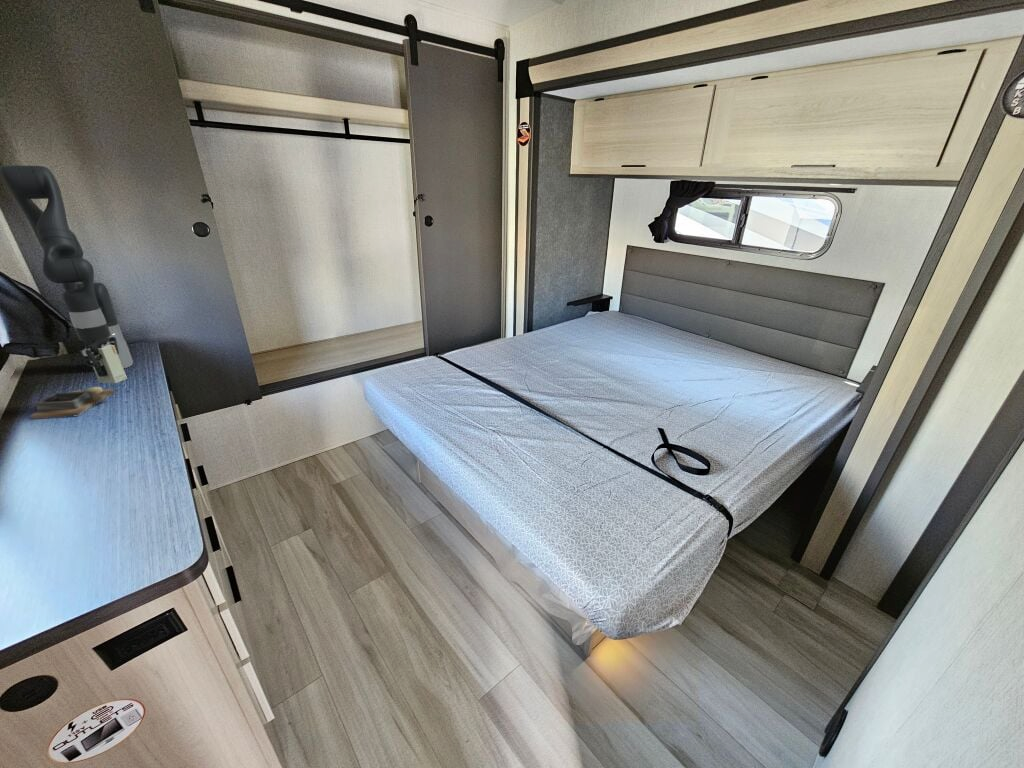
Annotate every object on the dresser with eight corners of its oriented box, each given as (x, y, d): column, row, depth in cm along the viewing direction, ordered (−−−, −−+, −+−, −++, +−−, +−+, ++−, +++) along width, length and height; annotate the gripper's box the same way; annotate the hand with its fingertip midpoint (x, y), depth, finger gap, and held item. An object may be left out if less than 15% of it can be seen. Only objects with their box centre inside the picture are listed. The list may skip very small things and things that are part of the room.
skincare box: (128, 378, 141) (115, 344, 136) (115, 384, 137) (102, 349, 132) (110, 377, 141) (97, 343, 136) (97, 382, 137) (83, 347, 132)
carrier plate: (74, 393, 144) (70, 384, 143) (114, 392, 147) (111, 382, 145) (32, 418, 128) (26, 408, 127) (78, 416, 131) (73, 405, 129)
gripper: (91, 317, 136) (109, 364, 144) (58, 330, 124) (80, 382, 131) (118, 317, 138) (134, 364, 145) (88, 330, 125) (108, 381, 133)
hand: (109, 372), depth 138 cm, fingers closed on skincare box, 5 cm apart
